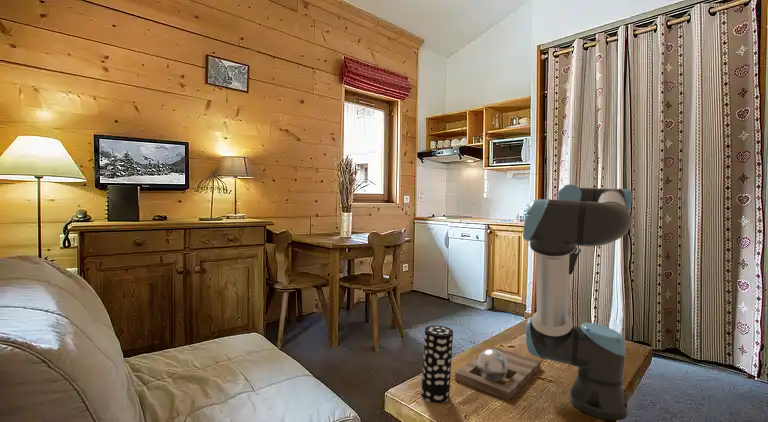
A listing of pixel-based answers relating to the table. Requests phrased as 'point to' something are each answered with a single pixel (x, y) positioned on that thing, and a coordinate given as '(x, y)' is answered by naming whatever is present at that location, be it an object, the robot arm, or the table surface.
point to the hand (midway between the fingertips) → (559, 292)
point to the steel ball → (492, 365)
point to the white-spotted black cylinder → (437, 364)
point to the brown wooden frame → (518, 371)
